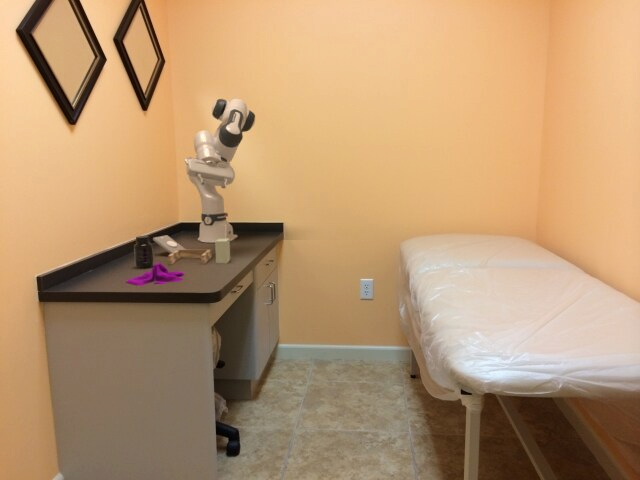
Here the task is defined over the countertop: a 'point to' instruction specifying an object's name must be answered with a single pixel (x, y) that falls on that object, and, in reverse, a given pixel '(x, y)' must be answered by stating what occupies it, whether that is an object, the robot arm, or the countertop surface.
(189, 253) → the wooden frame
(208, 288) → the countertop surface
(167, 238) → the light switch
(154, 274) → the cloth
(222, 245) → the pale olive cuboid
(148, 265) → the supplement bottle
